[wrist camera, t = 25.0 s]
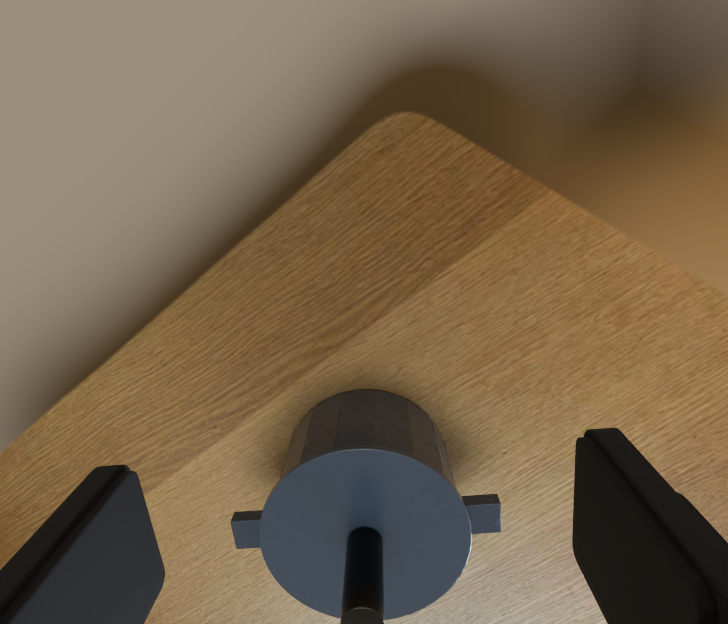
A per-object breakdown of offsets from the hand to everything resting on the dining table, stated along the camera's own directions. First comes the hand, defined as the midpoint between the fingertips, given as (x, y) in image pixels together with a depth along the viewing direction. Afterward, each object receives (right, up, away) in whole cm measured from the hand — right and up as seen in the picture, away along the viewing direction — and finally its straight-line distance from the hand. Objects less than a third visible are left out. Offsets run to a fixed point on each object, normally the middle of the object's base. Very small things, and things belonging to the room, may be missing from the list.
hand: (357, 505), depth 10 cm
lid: (0, -11, +22) cm, 25 cm away
